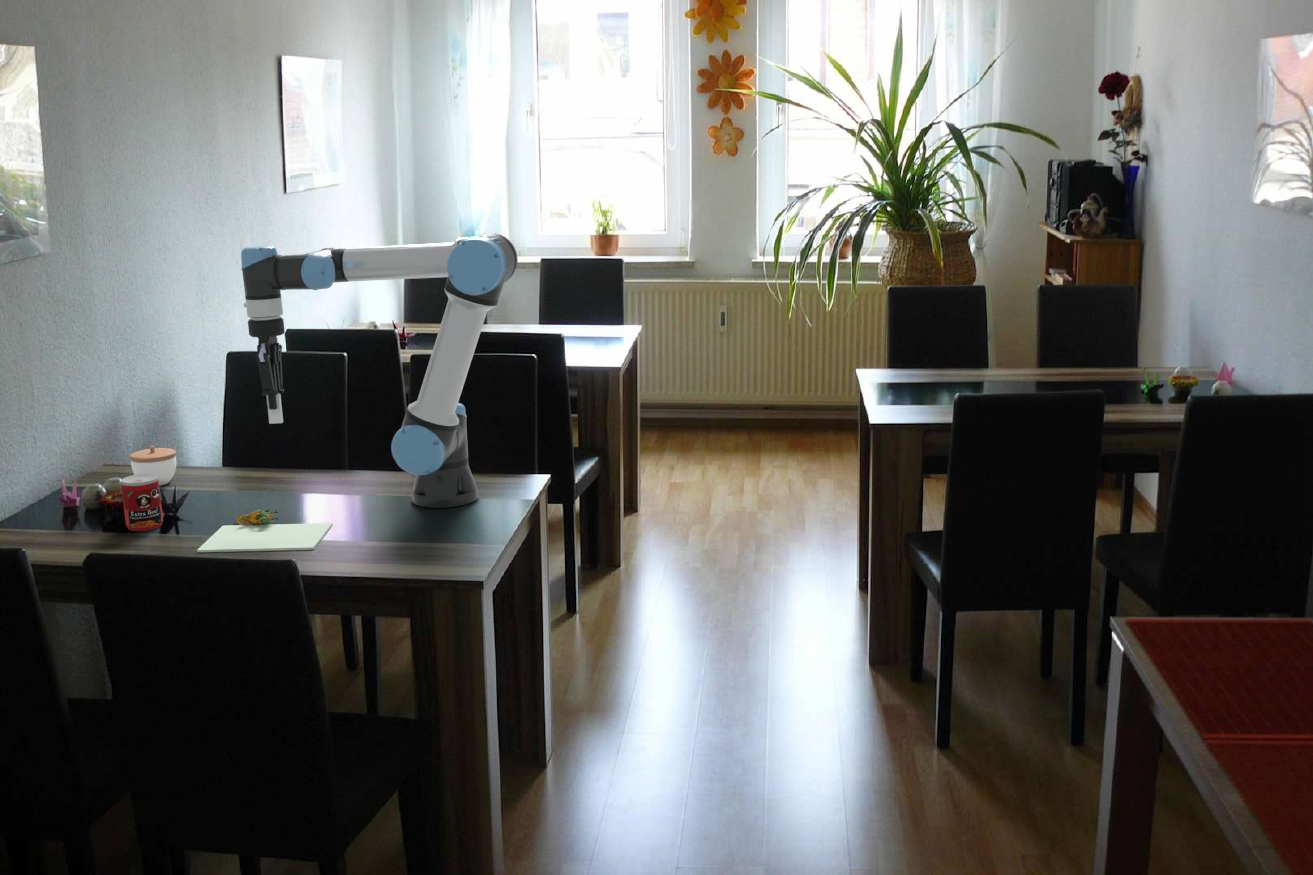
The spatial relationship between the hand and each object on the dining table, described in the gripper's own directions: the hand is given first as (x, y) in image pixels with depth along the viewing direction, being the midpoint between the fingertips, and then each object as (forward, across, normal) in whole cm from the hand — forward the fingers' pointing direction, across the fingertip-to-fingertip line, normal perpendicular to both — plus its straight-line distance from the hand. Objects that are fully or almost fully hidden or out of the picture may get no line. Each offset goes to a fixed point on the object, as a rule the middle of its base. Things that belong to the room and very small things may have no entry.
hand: (276, 422), depth 286 cm
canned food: (+21, +7, -29) cm, 37 cm away
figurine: (+20, +5, -2) cm, 20 cm away
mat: (+21, +18, +1) cm, 28 cm away
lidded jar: (+21, -30, -40) cm, 54 cm away
